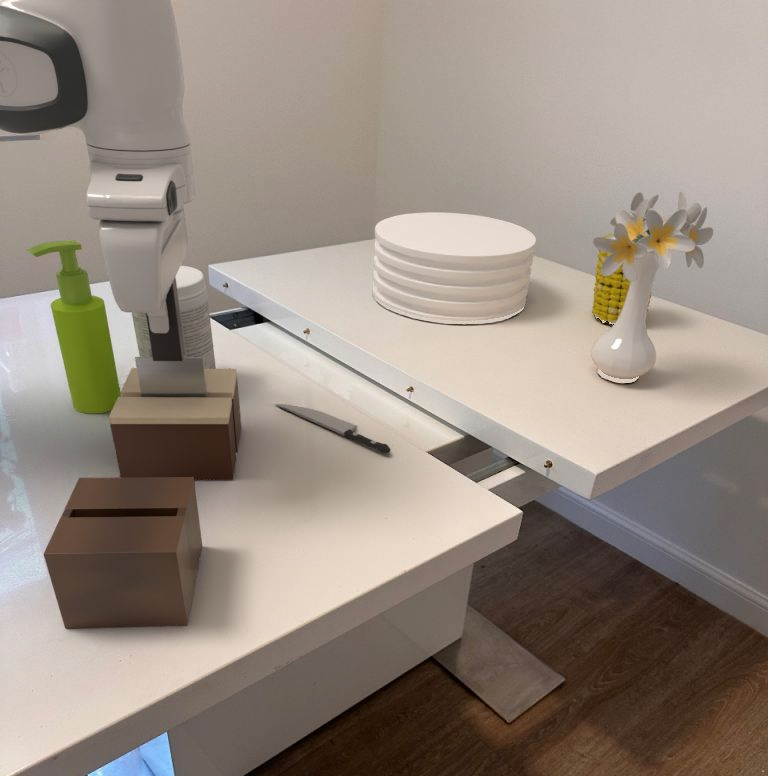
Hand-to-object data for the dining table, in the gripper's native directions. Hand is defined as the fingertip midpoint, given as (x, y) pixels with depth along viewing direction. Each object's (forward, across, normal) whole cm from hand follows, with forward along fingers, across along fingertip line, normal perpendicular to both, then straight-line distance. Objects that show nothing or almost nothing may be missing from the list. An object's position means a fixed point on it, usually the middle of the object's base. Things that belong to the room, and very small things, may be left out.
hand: (163, 324), depth 73 cm
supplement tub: (+16, -19, -3) cm, 25 cm away
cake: (+16, -4, 0) cm, 16 cm away
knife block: (+16, +22, -1) cm, 27 cm away
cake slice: (+16, +3, 0) cm, 16 cm away
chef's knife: (+16, -7, +18) cm, 25 cm away
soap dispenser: (+16, -13, -13) cm, 24 cm away
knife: (+14, 0, 0) cm, 14 cm away
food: (+16, -46, +68) cm, 84 cm away
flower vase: (+16, -22, +60) cm, 66 cm away
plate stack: (+16, -56, +40) cm, 71 cm away
